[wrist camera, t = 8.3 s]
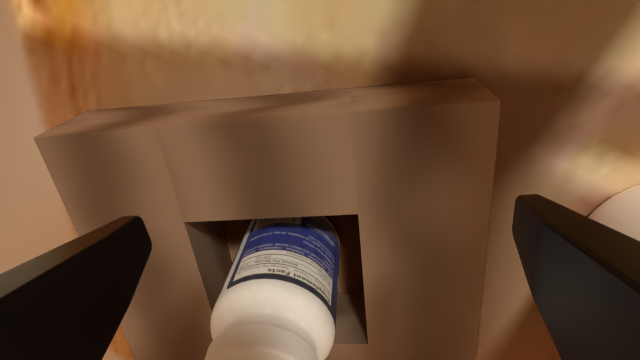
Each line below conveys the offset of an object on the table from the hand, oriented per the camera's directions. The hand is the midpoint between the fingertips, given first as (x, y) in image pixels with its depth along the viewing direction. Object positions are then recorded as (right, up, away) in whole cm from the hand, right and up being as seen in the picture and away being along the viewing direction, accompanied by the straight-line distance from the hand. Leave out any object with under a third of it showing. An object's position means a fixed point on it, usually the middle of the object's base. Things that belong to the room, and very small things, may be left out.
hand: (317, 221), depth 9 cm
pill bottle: (-2, -3, +15) cm, 15 cm away
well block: (-2, -3, +15) cm, 15 cm away
